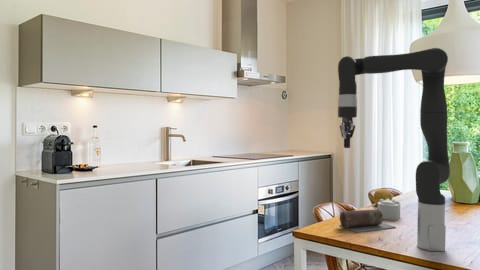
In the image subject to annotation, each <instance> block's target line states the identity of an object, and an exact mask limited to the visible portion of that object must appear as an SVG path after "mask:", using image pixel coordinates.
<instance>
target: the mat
mask: <svg viewBox="0 0 480 270" xmlns="http://www.w3.org/2000/svg"><path fill="white" fill-rule="evenodd" d="M339 227H341V228H344V227H342V225H341V224H339ZM344 229H346V230H348V231H350V232H354V233H365V232H366V233H367V232H373V231H374V232H375V231H382V230H391V229H397V227H396V226H395V225H391V224H388V223H385V222H382V224H380V225H372V226H361V227H350V228H344Z"/></svg>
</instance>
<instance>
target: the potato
mask: <svg viewBox="0 0 480 270" xmlns="http://www.w3.org/2000/svg"><path fill="white" fill-rule="evenodd" d="M372 196H373V197H372V199H373V202H374V204H375V205H376V206H377V207H378V202H379V200H380V199H383V200H384V201H385V200H386V199H389V200H390V201H391V200H392V199H393V194H392V192H391V191H390V190H389V189H386V188H378V189H376V190H375V191H374V193H373V195H372Z"/></svg>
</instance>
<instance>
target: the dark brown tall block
mask: <svg viewBox="0 0 480 270" xmlns="http://www.w3.org/2000/svg"><path fill="white" fill-rule="evenodd" d="M382 218H383V214H382V212H381V211H380V210H379V209H378V208H377V209H375V208H374V209H363V210H361V209H360V210H343V211H340V214H339V221H340V225H342V227H341V228H343V227H344V229H346V228H350V227H361V226H372V225H380V224H382V223H384V222H383V221H384V220H383V219H382Z"/></svg>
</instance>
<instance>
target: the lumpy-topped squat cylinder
mask: <svg viewBox="0 0 480 270" xmlns="http://www.w3.org/2000/svg"><path fill="white" fill-rule="evenodd" d="M377 209H379V210H380V211H381V212H382V214H383V218H382V219H385V220H391V221H398V220H399V219H400V218H401V202H400V201H399V200H396V199H393V198H392V200H391V201H390V200H389V199H386V200H385V201H384V200H383V199H380V200H379V202H378V206H377Z"/></svg>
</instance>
